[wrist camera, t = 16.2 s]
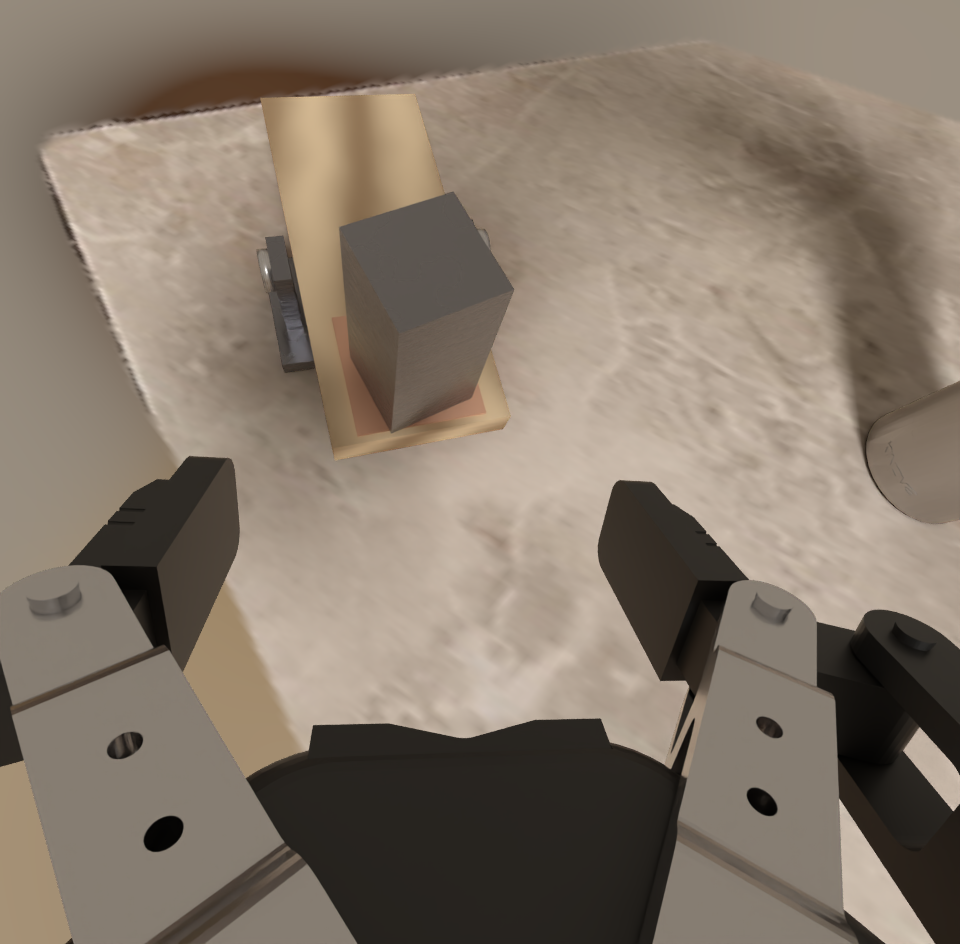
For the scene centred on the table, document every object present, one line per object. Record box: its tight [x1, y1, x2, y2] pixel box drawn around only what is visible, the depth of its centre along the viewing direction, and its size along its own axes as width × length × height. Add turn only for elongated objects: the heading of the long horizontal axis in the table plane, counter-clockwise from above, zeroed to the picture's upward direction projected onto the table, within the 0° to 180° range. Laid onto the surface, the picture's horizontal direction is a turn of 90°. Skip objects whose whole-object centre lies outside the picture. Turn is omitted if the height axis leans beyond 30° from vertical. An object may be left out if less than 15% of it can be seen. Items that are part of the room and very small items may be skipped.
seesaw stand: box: [257, 220, 491, 372], centre depth 35 cm, size 14×8×6 cm, turn 105°
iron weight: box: [339, 192, 514, 434], centre depth 26 cm, size 5×5×10 cm
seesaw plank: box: [260, 94, 511, 460], centre depth 34 cm, size 10×24×2 cm, turn 15°
